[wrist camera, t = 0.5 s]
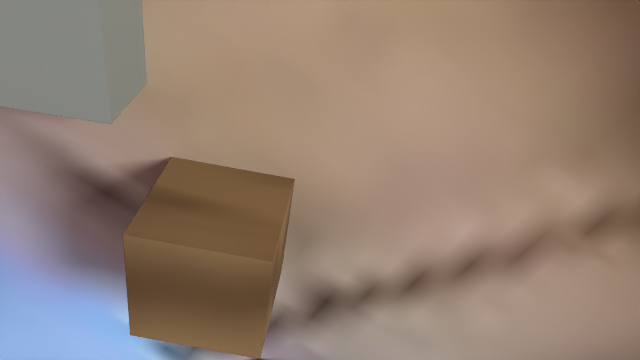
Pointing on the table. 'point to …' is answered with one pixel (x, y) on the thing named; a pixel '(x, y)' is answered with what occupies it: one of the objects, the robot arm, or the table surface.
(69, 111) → the slate slab
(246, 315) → the walnut cube
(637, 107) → the table surface
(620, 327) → the table surface
